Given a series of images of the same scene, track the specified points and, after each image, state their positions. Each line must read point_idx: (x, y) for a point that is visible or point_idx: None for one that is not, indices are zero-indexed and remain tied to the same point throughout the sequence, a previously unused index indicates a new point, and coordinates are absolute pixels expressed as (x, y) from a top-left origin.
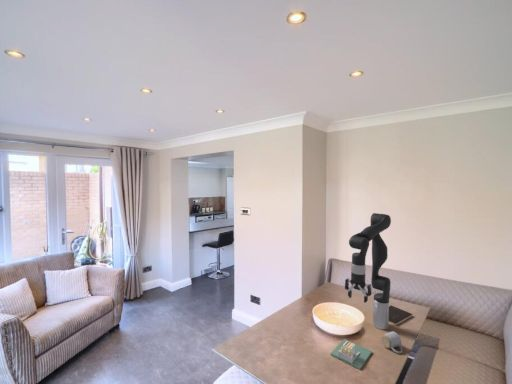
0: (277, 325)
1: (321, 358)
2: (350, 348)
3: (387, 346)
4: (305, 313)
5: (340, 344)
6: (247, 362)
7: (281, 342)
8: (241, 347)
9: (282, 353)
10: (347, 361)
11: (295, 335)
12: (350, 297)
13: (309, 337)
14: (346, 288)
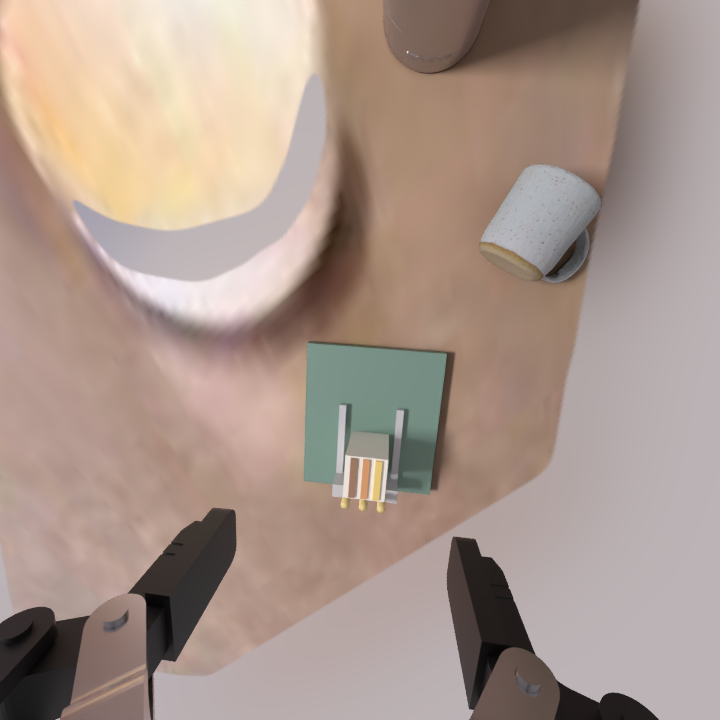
0: (28, 426)
1: (288, 512)
2: (381, 501)
3: (512, 273)
4: (31, 224)
5: (311, 399)
6: None
7: (125, 516)
8: (55, 611)
9: None
10: None
11: (131, 444)
12: (233, 546)
13: (181, 420)
14: (48, 718)
